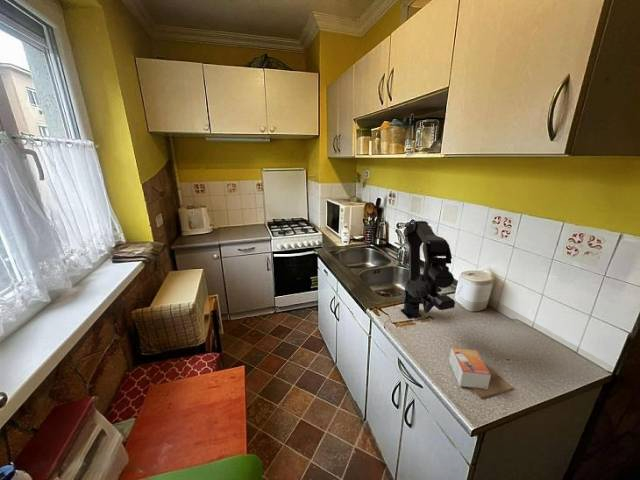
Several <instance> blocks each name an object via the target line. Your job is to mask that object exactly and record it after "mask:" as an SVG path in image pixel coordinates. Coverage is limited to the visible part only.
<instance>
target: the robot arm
mask: <svg viewBox="0 0 640 480" xmlns="http://www.w3.org/2000/svg"><path fill="white" fill-rule="evenodd" d="M403 237H404V242H405V243H406V245H407V247H408V280H407V282H406V284H405V285H404V290H403V291H402V292H401V293H400V294H401V295H400V299H401V301H402V304H403V308H402V309H401V308H400V312H401V313H402V314H403V316H405V317H406V318H408V319H412V318H413V319H414V318H418V317H422V314H421V313H420V305H422V307H423V311H424V313H425V314H428V313H429V312H430V311H431V310H432V309H433V308H434V307H435V308H436V309H438V310H439V311H445V310H448V309H455V307H456V306H455V305H456V301H455V300H454V299H453V298H452V297H450V296H449V295H447V294H441V293H440V292H442V289H446V288H449V287H451V286H452V285H453V284H454V282H455V278H454V277H455V276H454V275H453V273H452V272H451V271H450V267H449V266H448V265H447V264H449V265H451V264H452V259H453V256H452V251H451V248H450V244H449V242H448V241H447V240H446V239H445V238H444V237H441V236H439V235H436V234H435V233H434V231H433V230H432V228H431V227H430V226H429V223H428V221H426V220H415V221H413V222H412V223H410V224H409V225H406V226H405V227H404V229H403ZM421 246H422V253H423V257H424V264H423V265H424V266H423V271H422V273H421Z"/></svg>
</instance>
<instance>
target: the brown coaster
mask: <svg viewBox="0 0 640 480" xmlns="http://www.w3.org/2000/svg"><path fill="white" fill-rule="evenodd" d="M484 364H485V366H486V367H487V369H488V371H489V373H490V374H491V377H490V381H489V385H488V389H482V388H474V387H469V389H471V390H472V392H474V393H475V394H476V396H477V397H478V398H479V399H481V400H483V399H487V398H489V397H492V396H495V395H499V394H501V393H505V392H507V391H511V390H513V389H514V387H513V386H512V384H510V383H509V382H507V381H506V380H505V379H504V378H503V377H502V376H500V374H499V373H497V372H496V371H495V370H494V369H492V367H490V366H489V365H488V364H486V363H485V362H484Z"/></svg>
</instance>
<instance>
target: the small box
mask: <svg viewBox="0 0 640 480" xmlns="http://www.w3.org/2000/svg"><path fill="white" fill-rule="evenodd" d="M448 359H449V360H448V362H449V364H450V367H451V369H452V372H453V373H454V376H455V379H456V381H457V384H458V386H459V387H467V388H470V387H474V388H482V389H488V385H489V381H490V377H491V374H490V373H489V371H488V369H487V367H486V366H485V364H486V363H485V362H484V361H483V358H482V357H481V355H480V354H479V352H478V350H477V349H468V348H467V349H466V348H465V349H464V348H455V347H451V349H450V353H449V358H448ZM484 363H485V364H484Z"/></svg>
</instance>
